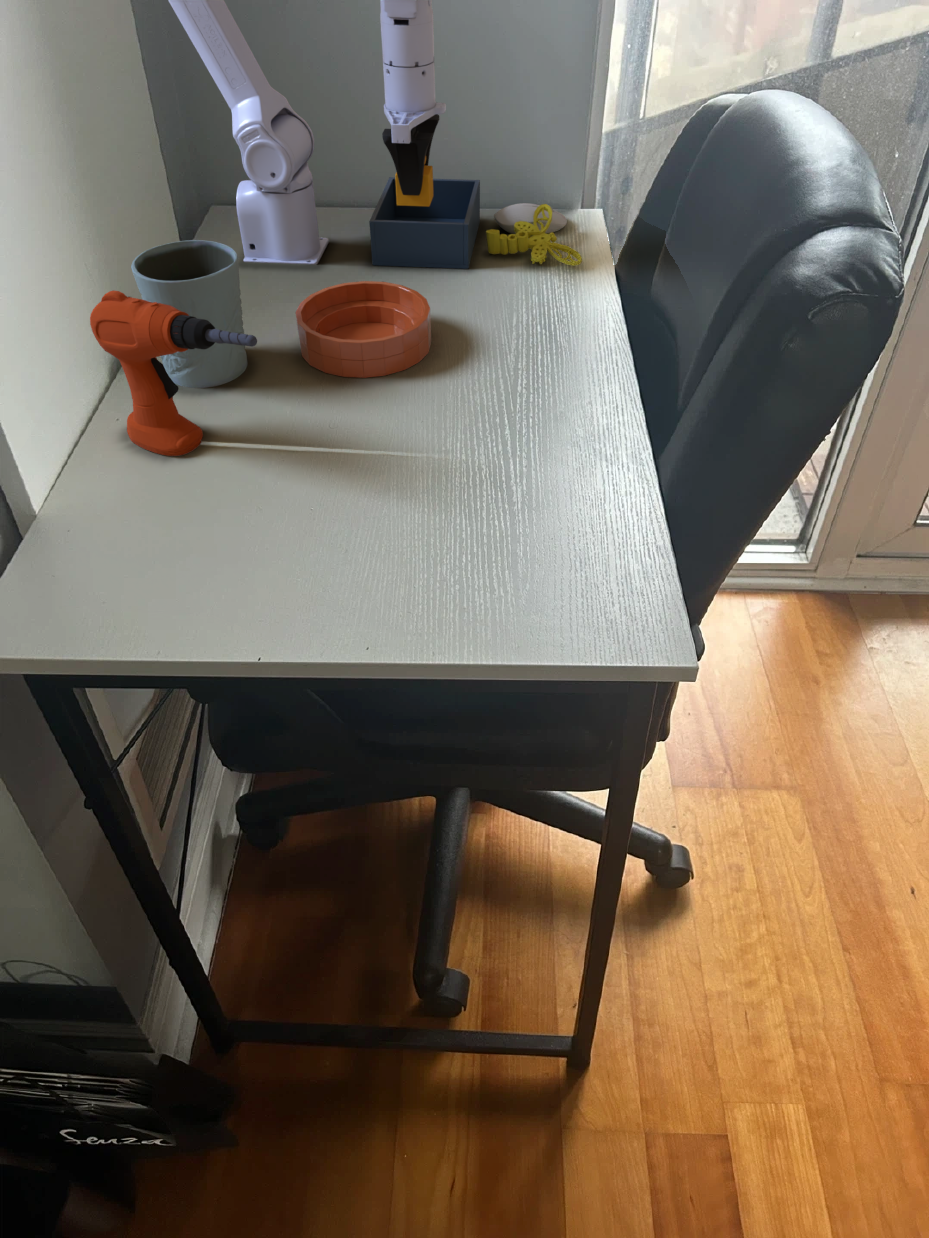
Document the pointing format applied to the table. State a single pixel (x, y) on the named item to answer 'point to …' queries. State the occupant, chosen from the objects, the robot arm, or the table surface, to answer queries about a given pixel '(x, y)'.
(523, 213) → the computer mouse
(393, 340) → the bowl
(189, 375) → the grey blue pot
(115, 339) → the toy drill
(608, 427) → the table surface
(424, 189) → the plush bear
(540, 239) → the decorative insect
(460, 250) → the bin
